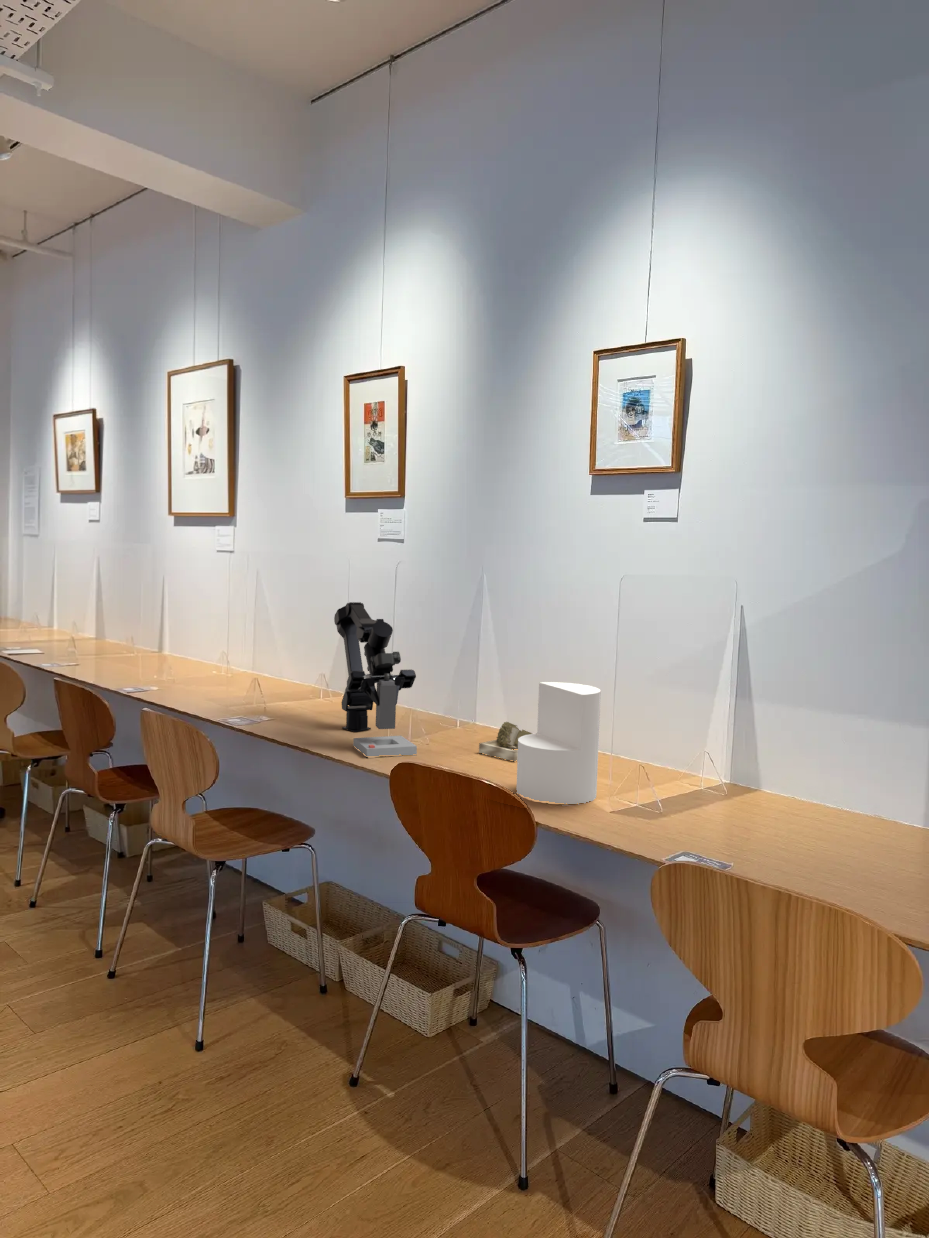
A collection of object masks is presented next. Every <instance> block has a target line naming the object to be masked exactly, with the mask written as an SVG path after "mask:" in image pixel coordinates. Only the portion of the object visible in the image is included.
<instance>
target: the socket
mask: <svg viewBox="0 0 929 1238" xmlns="http://www.w3.org/2000/svg"><path fill="white" fill-rule="evenodd" d="M352 740H353V742H352V743H353V744H352V746H355V747H356V748H357V749H359V750H360V751H361V752H362V753H364V754H365V755H366V756H379V755H399V754H401V755H413V754H417V753H418V751H417V749H418V746H417V745H416V744H414V743H413V742H411V741H410V740H408V739H407V738H405V737H404V736H402V735H388V736H387V735H386V736H385V735H384V736H367V737H366V736H365V737H354V738H353V739H352ZM413 756H414V755H413Z"/></svg>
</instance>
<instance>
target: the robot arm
mask: <svg viewBox="0 0 929 1238" xmlns="http://www.w3.org/2000/svg"><path fill="white" fill-rule="evenodd" d="M364 605H365V604H364V603H363V602H360V601H357V602H355V601H352V602H350V601H349V602H347V603H346V604H345V605H344V606H342V607H340V608H338V609H337V610H336V612H335V613H334V617H333V618H334V619H333V620H334V625H335V627H336V630H337V633H338V634H339V635H340V637H342V639H343V643H344V652H345V661H346V668H347V673H348V678H347V681H346V687H345V690H344V694H343V697H342V698H341V709H342V710H343V711H344V712H346V715H345V716H346V719H345V721H346V723H345V724H346V726H342V728H341V729H343V730H345V729H348V730H347V731H349V730H351V731H350V732H353V731H354V732H353V733H357V732H364V731H369V730H368V729H370V730H372V728H371V727H369V726H368V724H369V721H368V720H369V718H368V717H369V715H368V711H372V710H373V708H374V704H375V706H376V705H377V706H379V698H378V694H377V687H376V684H377V683H379V680H384V673H389V680H393V681H394V682H395V685H396V705H398V699H399V691H401V690H403V689H411V688H412V687H413V685H414V682H415V680H416V678H417V675H416V672H415V670H414V669H400V671H399V672H398V673H399V674H391V673H393V671H394V666H395V665H399V664H400V663H401V660H402V659H401V653H400V651H392V652H390V653H388V652H386V649H385V648H387V647H388V645H389V642H390V640H391V637H392V636H393V635H392V634H393V631H394V630H393V627H392V626H391V625H390V624H389V623H388V622H385V620H384V618H376V619H372V617H371V616H370V614H369V613H368V612H367V610H366V609H365V606H364ZM360 643H365V644H364V646H363V650H364V651H363V652H364V653H363V654H364V657H365V659H366V660H365V661H366V663H367V668H366V670H367V672H369V673H366V672H365V671H364V669H363V668H364V667H363V661H362V654H361V653H362V652H361V647H360ZM363 730H364V731H363Z"/></svg>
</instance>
